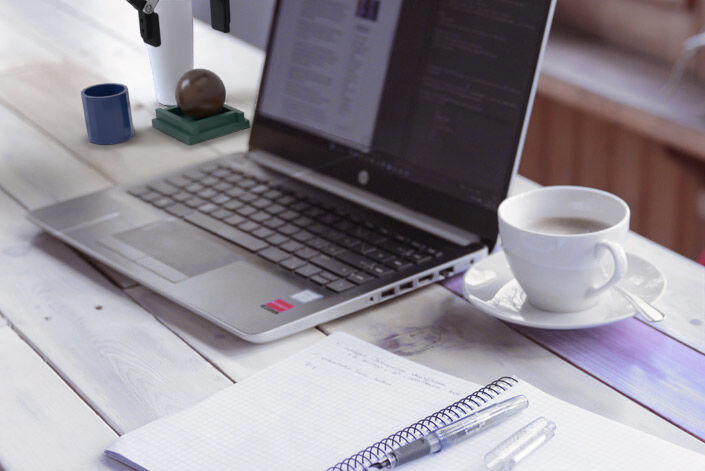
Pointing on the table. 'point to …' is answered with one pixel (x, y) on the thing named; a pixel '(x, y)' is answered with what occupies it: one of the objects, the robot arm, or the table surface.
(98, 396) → the table surface
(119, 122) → the cup
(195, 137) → the tray
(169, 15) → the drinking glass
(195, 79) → the ball
